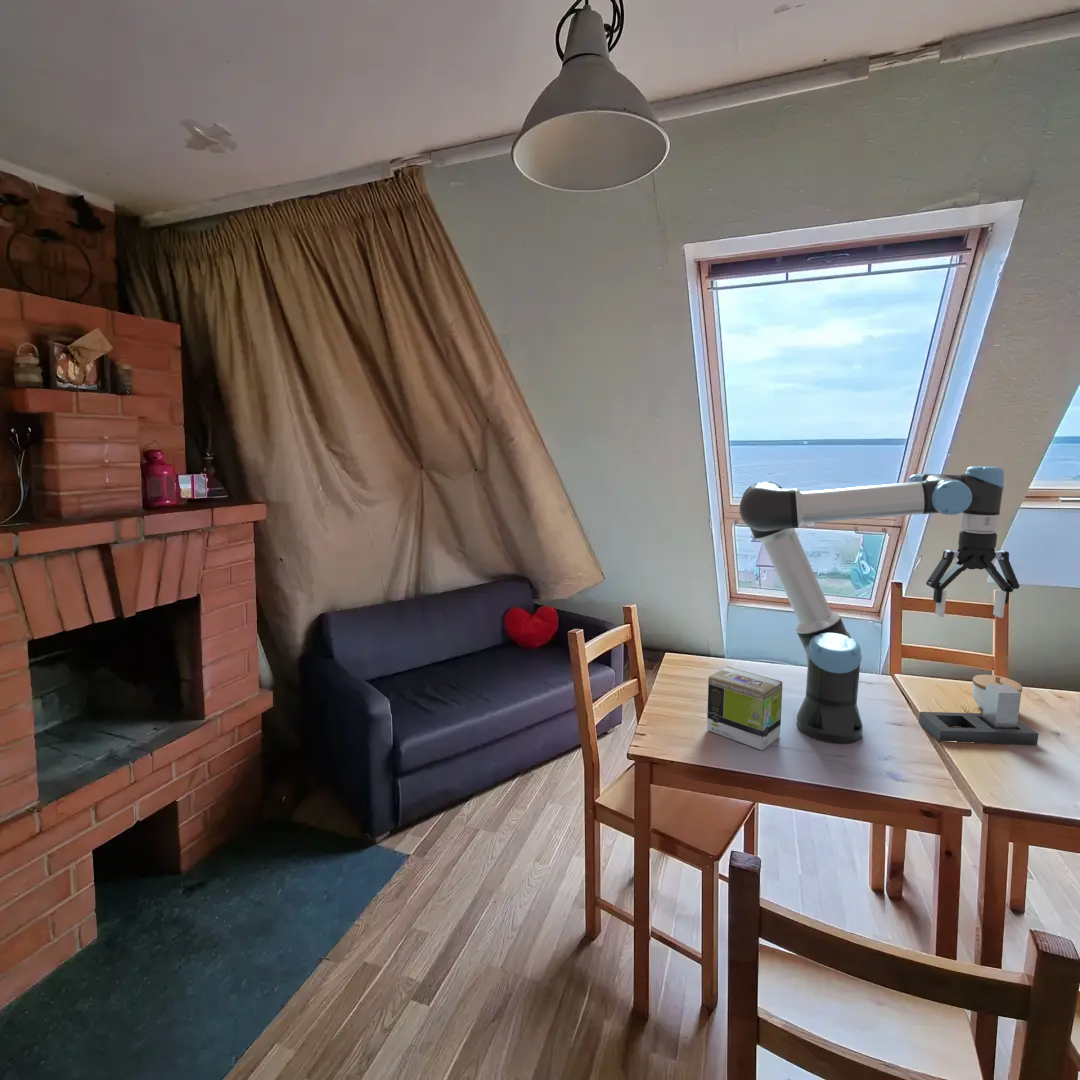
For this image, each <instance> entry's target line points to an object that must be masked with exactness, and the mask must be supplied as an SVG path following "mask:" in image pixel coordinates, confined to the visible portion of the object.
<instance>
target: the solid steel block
mask: <svg viewBox="0 0 1080 1080" xmlns="http://www.w3.org/2000/svg"><path fill="white" fill-rule="evenodd" d="M1021 697H1022V692H1021V693H1020V692H1018V691H1017V690H1015V689H1014V688H1012V687H1010V686H1009V685H993V684H986V691H985V699H984V707H983V710H982V713H983V715H982V721H983V722H985V723H986V724H987V725H989V726H990V727H991V728H992V729H1016V728H1017V721H1018V719H1019V715H1020V714H1019V712H1020V707H1021Z"/></svg>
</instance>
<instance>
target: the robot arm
mask: <svg viewBox="0 0 1080 1080" xmlns="http://www.w3.org/2000/svg"><path fill="white" fill-rule="evenodd" d="M1004 484H1005V471H1004V469H1003V468H1002V467H999V466H992V465H989V466H988V465H971V466H969V467H967V468H966V472H964V474H939V473H938V474H937V473H936V474H935V473H933V474H931V473H921V474H920V473H918V474H911V475H910V476H909V478H908V479H907V482H900V483H898V482H897V483H890V484H888V483H887V484H878V485H868V486H867V485H866V486H855V487H854V486H853V487H845V488H835V489H824V490H823V489H822V490H811V491H810V490H808V491H800V490H799V489H798V488H783V487H782V486H780V484H778V483H776V482H772V481H765V480H764V481H759V482H757V483H753V484H751V485H749V487H747V489H746V490H745V491H744V492H743V494H742V497H741V500H740V502H739V509H738V510H739V515H740V517H741V519H742V522H743V523H744V524H745V525H746V526H747V527H748V528H749V530H750V531H751V533H752V535H753V536H752V537H753V538H754V540H755V541H756V540H757V541H758V542H761V543H763V546H764V547H765V550H766V552H767V555H768V557H769V559H770V561H771V564H772V566H773V567H774V569H775V573H776V575H777V576H778V580H779V581H780V583H781V586H782V588H783V590H784V592H785V595H786V596H787V599H788V601H789V603H790V606H791V608H792V610H793V613H794V615H795V617H796V619H797V621H798V624H797V627H796V629H795V631H796V633H797V636H798V639H799V640H800V643H801V644H802V646H803V649H804V651H805V656H806V662H807V671H806V672H807V675H806V686H805V687H806V688H805V696H804V698H803V700H802V703H801V705H800V707H799V710H798V712H797V714H796V722H795V723H796V727H797V728H798V729H799V730H800V731H801V732H802V733H804V735H806V736H808V737H810V738H814V739H816V740H819V741H821V742H822V741H823V742H826V743H827V742H829V743H834V744H849V743H854V742H857V741H859V740H861V738H862V736H863V729H864V728H863V723H862V719H861V715H860V711H859V707H858V693H859V680H860V672H861V671H860V669H861V662H862V659H863V658H862V657H863V656H862V649H861V645H860V644H859V642H857V640H855V639H854V638H852V637H851V634H850V633H849V632H848V631H847V629H846V627H845V623H844V622H843V620H842V618H841V615H840V614H838V613H837V612H833V611H832V610H831V608H830V605H829V603H828V600H827V599H826V596H825V595H824V592H823V591H822V587H821V586H820V584H819V581H818V579H817V577H816V575H815V572H814V569H813V568H812V565H811V563H810V561H809V559H808V557H807V555H806V552H805V550H804V548H803V546H802V543H801V542H800V539H799V537H798V535H797V532H796V529H800V527H802V526H803V525H804V524H809V523H821V522H823V523H824V522H834V521H836V522H838V521H848V520H851V521H852V520H858V519H859V520H862V519H873V518H874V519H875V518H885V517H889V518H890V517H899V516H900V517H901V516H902V517H903V516H912V515H929V514H930V515H931V514H942V515H947V516H948V515H950V516H952V515H953V516H954V515H959V514H961V517H960V526H959V528H960V529H961V530H960V531H959V534H958V541H957V542H958V543H957V545H958V549H957V550H949V549H944V550H943V553H942V556H941V559H940V560H939V562H938V563H937V565H936V567H935V568H934V569H933V571H932V573H931V575H930V576H929V577H928V579H927V581H926V583H925V584H926V586H928V587H930V588H932V589H933V598H932V600H933V602H935V611H934V614H935V615H937V616H939V617H940V618H944V617H945V612H946V611H945V610H946V603H947V602H946V601H947V593H948V591H947V590H946V587H947V586H948V585H950V584H951V583H952V582H953V581H954V580H955V579H957V577H958V576H959V575H961V573H962V572H965V571H966V570H985V571H986V572H987V573H988V575H990V577H991V579H992V580H993V581H994V582H995V583H996V585H997V586H998V587H999V588H995V596H994V604H993V611H992V615H993V616H995V617H996V618H999V619H1003V618H1004V614H1005V613H1004V612H1005V604H1006V605H1007V604H1008V603H1009V598H1010V593H1013V591H1014V590H1018V589H1020V584H1019V582H1018V578H1017V577H1016V574H1015V571H1014V569H1013V567H1012V565H1011V562H1010V553H1009V552H1008V551H1007V550H1003V549H998V550H997V551H995V549H996V547H997V539H998V534H997V531H998V529H999V524H1000V523H999V522H1000V515H1001V504H1002V498H1003V492H1004V488H1005V485H1004ZM956 558H957V560H956V561H955V562H954V563H953V565H952V567H950V566H951V564H952V562H953V560H955V559H956ZM995 558H996V560H997V562H998V565H999V567H1000V569H1001V572H1002V574H1003V576H1004V578H1003V576H1002V575H1001V574H1000V572H999V571H998V570H997V568H996V566H995V565H994V563H993V560H994V559H995Z"/></svg>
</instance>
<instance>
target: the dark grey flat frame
mask: <svg viewBox="0 0 1080 1080" xmlns="http://www.w3.org/2000/svg"><path fill="white" fill-rule="evenodd" d="M982 715H983V712H982V713H979V712H977V713H975V712H942V711H940V712H938V711H920V712H919V718H918V724H920V725H921V726H922V727H923V728H924V729H925V730H926V731H927V732H928V733H929V734H930V735H931V736H932V737H933V738H934V739H936V741H938V743H941V742H940V741H957V742H974V743H973V744H984V743H987V744H988V745H990V744H991V745H1017V746H1018V745H1019V746H1038V742H1039V741H1038V740H1039V735H1040V734H1039V733H1038V732H1037V731H1036V730H1034V729H1033V728H1032V727H1030V726H1029V725H1027V724H1026V723H1024V722H1023V721H1022V720H1020V719H1019V718H1018V721H1017V728H1016V729H992V728H991V727H990V726H989V725H987V724H986V723H985V722H983V721H982ZM947 725H948V726H961V727H962V728H961V727H948V726H947Z"/></svg>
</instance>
